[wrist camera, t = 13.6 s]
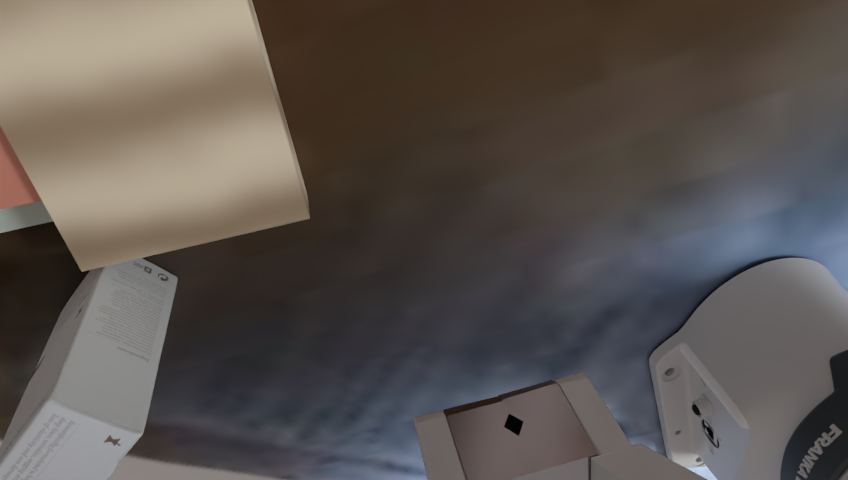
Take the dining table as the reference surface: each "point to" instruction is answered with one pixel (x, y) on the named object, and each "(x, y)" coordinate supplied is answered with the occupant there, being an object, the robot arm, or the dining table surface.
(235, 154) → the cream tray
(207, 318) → the dining table surface
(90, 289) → the skincare box
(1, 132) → the pink tray
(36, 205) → the mat
